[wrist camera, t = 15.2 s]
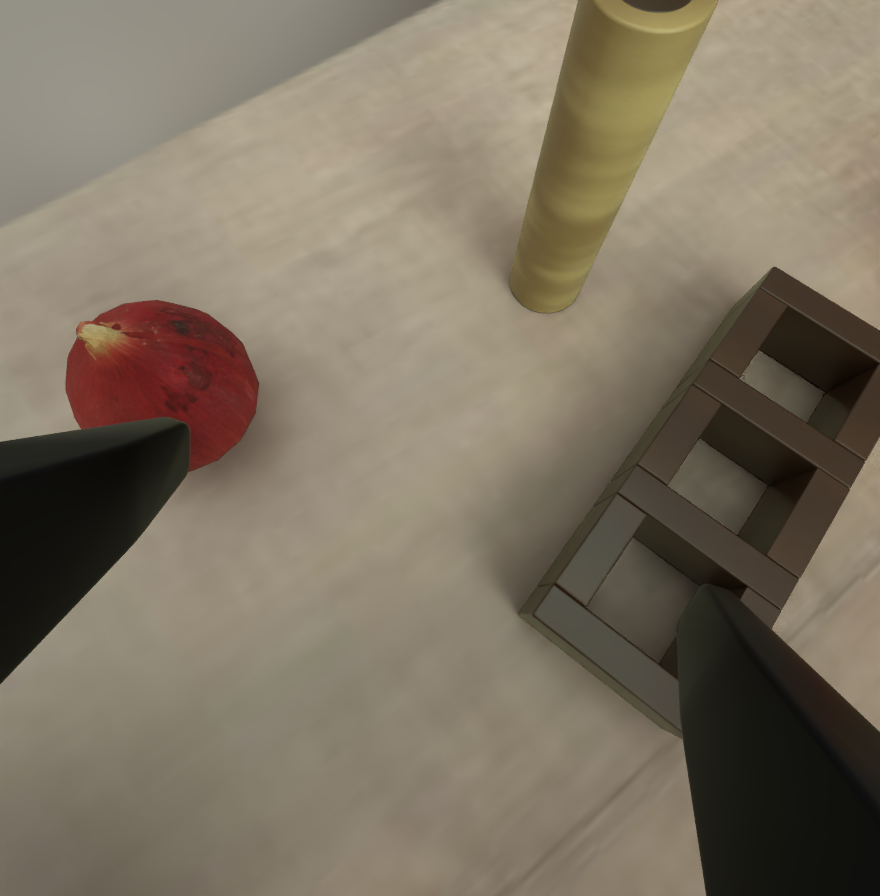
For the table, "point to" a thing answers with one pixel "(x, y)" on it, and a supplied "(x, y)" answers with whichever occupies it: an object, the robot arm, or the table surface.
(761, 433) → the rack
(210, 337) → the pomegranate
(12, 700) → the table surface
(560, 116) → the tan hollow tube
